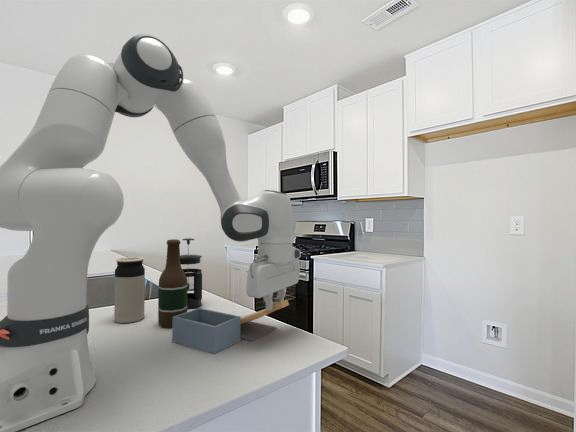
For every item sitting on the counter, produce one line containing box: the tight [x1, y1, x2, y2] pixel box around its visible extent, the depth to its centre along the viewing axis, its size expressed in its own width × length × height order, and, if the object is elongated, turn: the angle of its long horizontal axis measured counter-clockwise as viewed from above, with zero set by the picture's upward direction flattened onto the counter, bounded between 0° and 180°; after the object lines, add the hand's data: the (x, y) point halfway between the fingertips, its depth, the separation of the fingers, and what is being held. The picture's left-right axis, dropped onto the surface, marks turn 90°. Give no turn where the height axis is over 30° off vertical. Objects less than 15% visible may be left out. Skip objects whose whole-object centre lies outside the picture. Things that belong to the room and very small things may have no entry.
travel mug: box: [113, 256, 146, 324], centre depth 95 cm, size 8×8×18 cm
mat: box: [240, 321, 277, 343], centre depth 87 cm, size 11×14×1 cm
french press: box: [180, 237, 203, 311], centre depth 109 cm, size 12×9×23 cm
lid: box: [240, 299, 290, 324], centre depth 85 cm, size 10×19×2 cm, turn 60°
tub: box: [171, 307, 241, 355], centre depth 79 cm, size 9×14×6 cm, turn 60°
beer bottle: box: [157, 238, 188, 329], centre depth 91 cm, size 8×8×24 cm
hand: (274, 307), depth 83 cm, fingers closed on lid, 3 cm apart
